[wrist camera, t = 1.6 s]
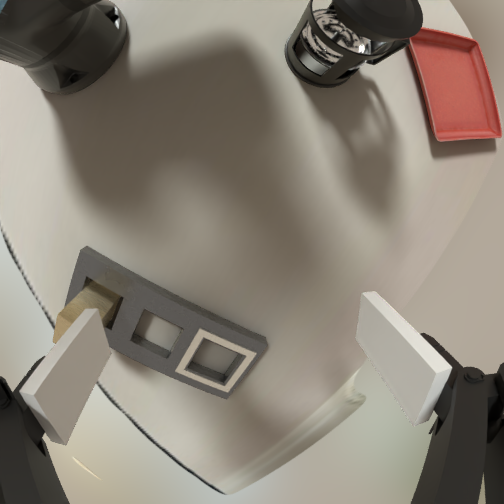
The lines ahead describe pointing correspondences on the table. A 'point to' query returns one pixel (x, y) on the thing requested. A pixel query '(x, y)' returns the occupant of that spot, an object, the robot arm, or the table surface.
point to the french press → (351, 36)
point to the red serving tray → (455, 86)
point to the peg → (87, 307)
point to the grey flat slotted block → (175, 311)
